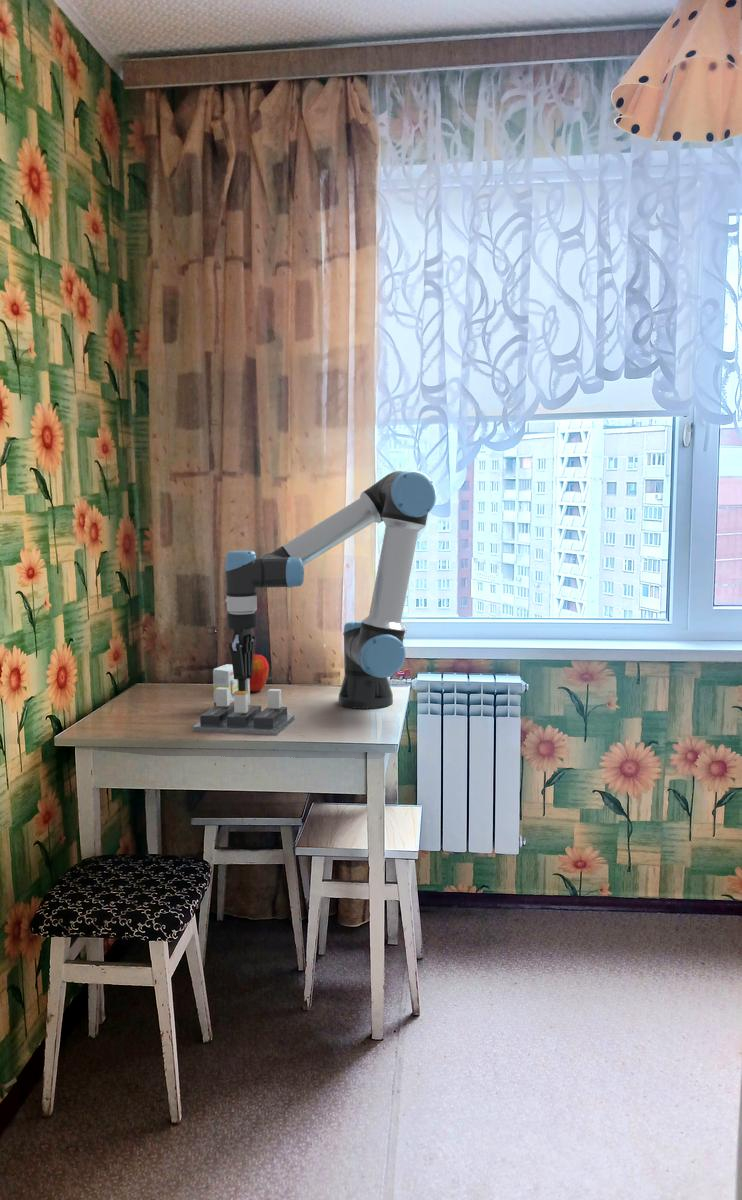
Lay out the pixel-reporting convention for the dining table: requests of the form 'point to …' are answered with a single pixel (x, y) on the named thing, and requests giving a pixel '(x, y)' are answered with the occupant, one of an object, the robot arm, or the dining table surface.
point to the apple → (259, 673)
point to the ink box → (225, 681)
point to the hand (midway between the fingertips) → (244, 703)
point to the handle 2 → (274, 698)
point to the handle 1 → (222, 696)
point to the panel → (245, 729)
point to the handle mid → (241, 701)
